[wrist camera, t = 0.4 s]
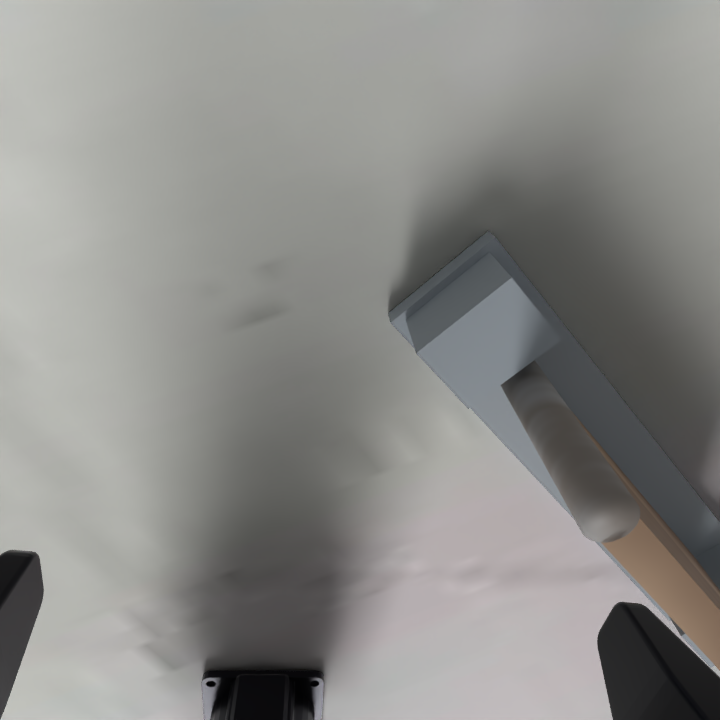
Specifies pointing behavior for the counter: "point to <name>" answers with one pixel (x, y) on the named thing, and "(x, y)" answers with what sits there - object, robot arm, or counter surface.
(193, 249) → the counter surface
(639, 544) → the gate leaf
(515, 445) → the gate frame
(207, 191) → the counter surface
